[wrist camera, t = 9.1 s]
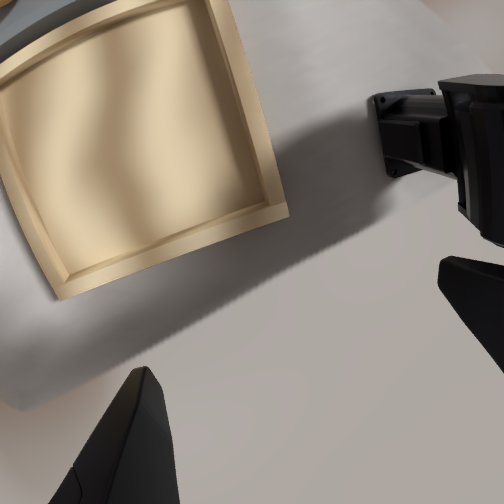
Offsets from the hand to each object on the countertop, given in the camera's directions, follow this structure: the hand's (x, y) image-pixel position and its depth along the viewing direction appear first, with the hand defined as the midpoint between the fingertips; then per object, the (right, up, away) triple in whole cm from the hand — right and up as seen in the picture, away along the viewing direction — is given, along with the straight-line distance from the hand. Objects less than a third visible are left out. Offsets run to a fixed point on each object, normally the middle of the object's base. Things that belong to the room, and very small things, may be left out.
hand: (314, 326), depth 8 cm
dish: (-9, +9, +8) cm, 15 cm away
